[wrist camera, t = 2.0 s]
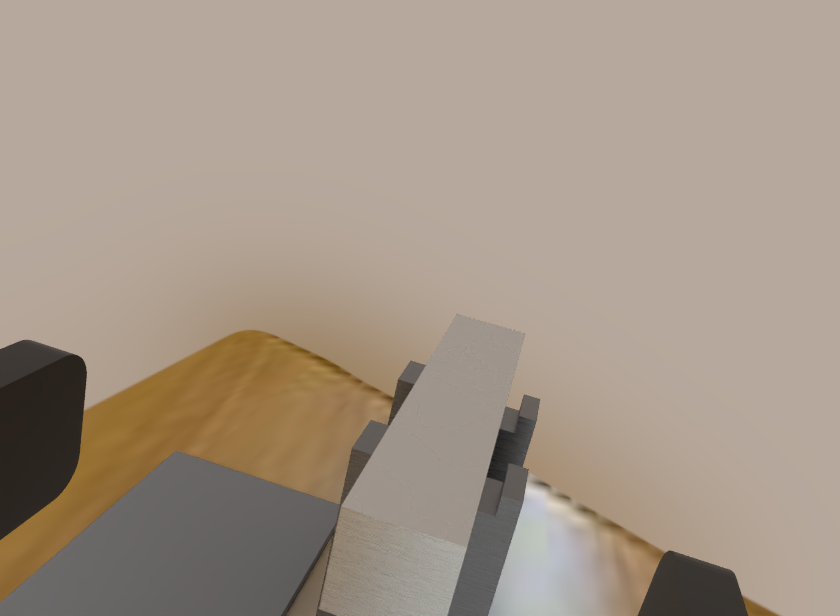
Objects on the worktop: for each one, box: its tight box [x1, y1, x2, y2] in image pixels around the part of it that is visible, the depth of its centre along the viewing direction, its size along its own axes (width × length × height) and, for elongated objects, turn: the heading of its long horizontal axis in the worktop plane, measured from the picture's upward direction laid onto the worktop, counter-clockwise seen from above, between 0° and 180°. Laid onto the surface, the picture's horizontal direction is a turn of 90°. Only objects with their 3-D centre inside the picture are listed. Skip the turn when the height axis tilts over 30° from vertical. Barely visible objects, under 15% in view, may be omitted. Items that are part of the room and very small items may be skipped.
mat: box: [0, 451, 340, 616], centre depth 34 cm, size 21×11×1 cm, turn 167°
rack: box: [316, 361, 540, 616], centre depth 33 cm, size 11×7×12 cm, turn 167°
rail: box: [319, 314, 525, 616], centre depth 28 cm, size 18×4×4 cm, turn 167°
